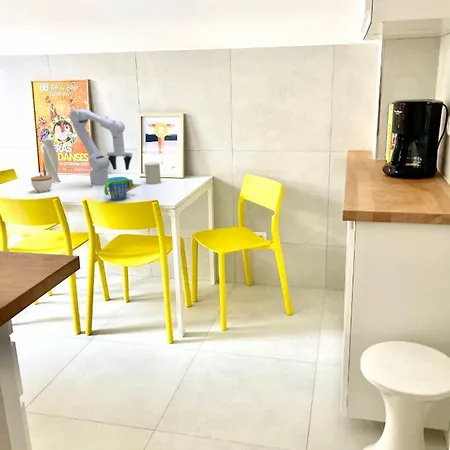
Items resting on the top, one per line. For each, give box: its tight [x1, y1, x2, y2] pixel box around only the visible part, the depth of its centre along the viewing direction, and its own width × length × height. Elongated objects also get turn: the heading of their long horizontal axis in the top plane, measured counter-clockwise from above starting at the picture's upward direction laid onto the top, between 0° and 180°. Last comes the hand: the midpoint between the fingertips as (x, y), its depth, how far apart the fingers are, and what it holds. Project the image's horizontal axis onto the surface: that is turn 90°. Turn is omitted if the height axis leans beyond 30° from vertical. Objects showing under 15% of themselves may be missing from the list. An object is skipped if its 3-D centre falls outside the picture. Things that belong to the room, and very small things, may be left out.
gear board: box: [107, 183, 143, 192], centre depth 264 cm, size 12×18×4 cm, turn 163°
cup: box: [144, 161, 162, 185], centre depth 273 cm, size 8×8×12 cm
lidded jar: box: [30, 173, 53, 193], centre depth 269 cm, size 11×11×9 cm
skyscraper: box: [41, 134, 61, 184], centre depth 287 cm, size 8×8×28 cm
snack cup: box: [104, 176, 131, 201], centre depth 245 cm, size 16×10×10 cm
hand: (121, 169), depth 269 cm, fingers open, 7 cm apart
